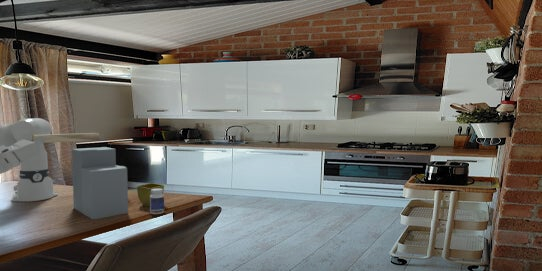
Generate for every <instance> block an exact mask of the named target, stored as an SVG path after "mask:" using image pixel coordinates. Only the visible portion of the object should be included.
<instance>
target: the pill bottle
mask: <svg viewBox="0 0 542 271" xmlns="http://www.w3.org/2000/svg"><path fill="white" fill-rule="evenodd" d="M162 192H163V194H162ZM151 193H152V194H151V195H150V206H149V213H150V214H151V215H160V214H163V213H164V212H165V195H164V191H163V189H159V188H158V189H152V190H151Z"/></svg>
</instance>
